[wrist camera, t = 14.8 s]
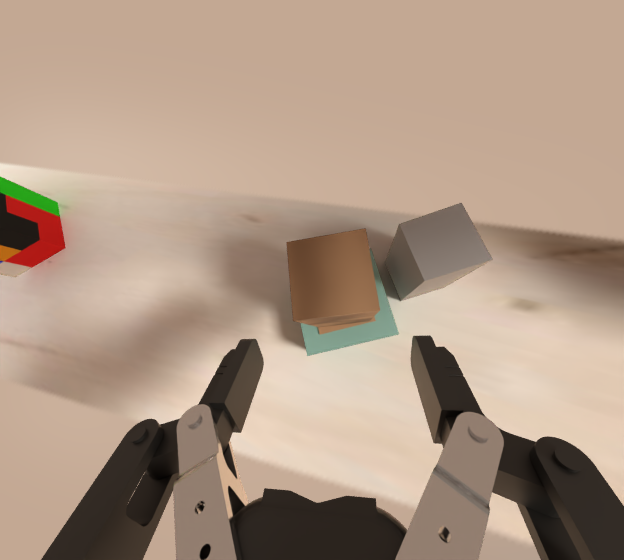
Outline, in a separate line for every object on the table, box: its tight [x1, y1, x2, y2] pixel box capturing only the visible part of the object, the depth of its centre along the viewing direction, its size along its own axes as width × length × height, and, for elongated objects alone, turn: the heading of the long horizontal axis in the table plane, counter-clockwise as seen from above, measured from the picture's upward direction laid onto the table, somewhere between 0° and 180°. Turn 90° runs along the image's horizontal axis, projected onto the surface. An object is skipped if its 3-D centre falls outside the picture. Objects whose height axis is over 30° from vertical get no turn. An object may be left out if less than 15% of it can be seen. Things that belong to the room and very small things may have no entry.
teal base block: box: [301, 248, 399, 356], centre depth 26 cm, size 9×9×5 cm
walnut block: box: [287, 228, 380, 327], centre depth 19 cm, size 5×5×10 cm
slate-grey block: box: [385, 203, 493, 301], centre depth 23 cm, size 5×5×10 cm
